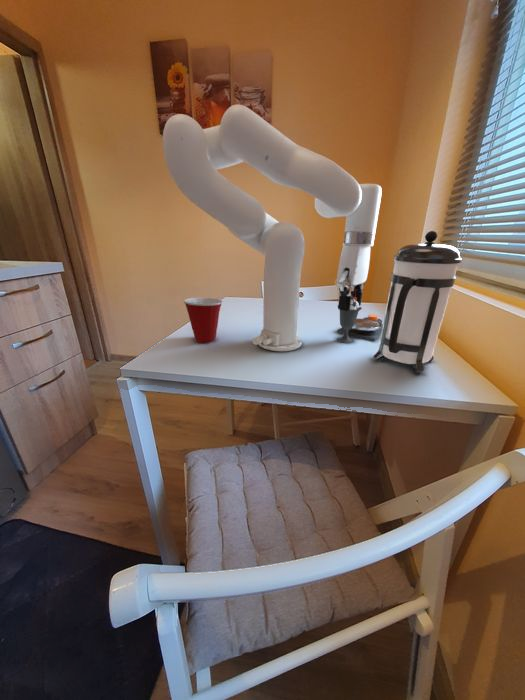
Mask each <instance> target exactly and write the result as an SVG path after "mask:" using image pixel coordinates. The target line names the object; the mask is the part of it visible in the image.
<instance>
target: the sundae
mask: <svg viewBox="0 0 525 700" xmlns="http://www.w3.org/2000/svg"><path fill="white" fill-rule="evenodd" d="M355 290H357V289H355ZM354 292H355V291H354ZM350 296H352V295H351V294H350ZM356 300H357V298H356V292H355V297H353V296H352V297H351V304H350V310H349V311H344V310H339V325H340V328H343V329H344V334H342V336H338V337H337V338H336V339H335V340H336V341H337V342H339V343H340V344H341V343H342V344H353V343H354V339H353V338H350V337H349V335H348V330H349V329H351V328H352V327H353V326H354V324H355V322H356V319H358V315H359V312H360V311H361V310H362V309H363V308H362V307H361V306H359V303H358V302H357V301H356Z"/></svg>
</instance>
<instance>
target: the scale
mask: <svg viewBox="0 0 525 700" xmlns="http://www.w3.org/2000/svg"><path fill="white" fill-rule="evenodd" d="M362 319H368V316H366V317H363V318H362ZM375 322H377V323H379V324H380V327H379V329H377V330H371V331H367V330H358V329H354V328H351V329H349V330H348V336H351V337H355V338H359V339H363V340H368V341H371V342H376V341H377V340H378V339H381V334H382V328H383V320H382V319H381V318H378V320H377V321H375ZM336 332H337V333H338V334H342V335H344V329H343V328H342V327H340V328H339V329H337V331H336Z"/></svg>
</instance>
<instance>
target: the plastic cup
mask: <svg viewBox="0 0 525 700" xmlns="http://www.w3.org/2000/svg"><path fill="white" fill-rule="evenodd" d="M223 302H224V301H223V299H219V298H214V297H189V298H184V299H183V303H184V305H185V308H186V311H187V314H188V319H189V322H190V325H191V330H192V332H193V333H192V334H193V336H194V339H195V341H196V342H197V343H200V344H209V343H213V342H214V341H216V339H217V333H218V332H217V331H218V325H219V316H220V312H221V307H222V304H223Z"/></svg>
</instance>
